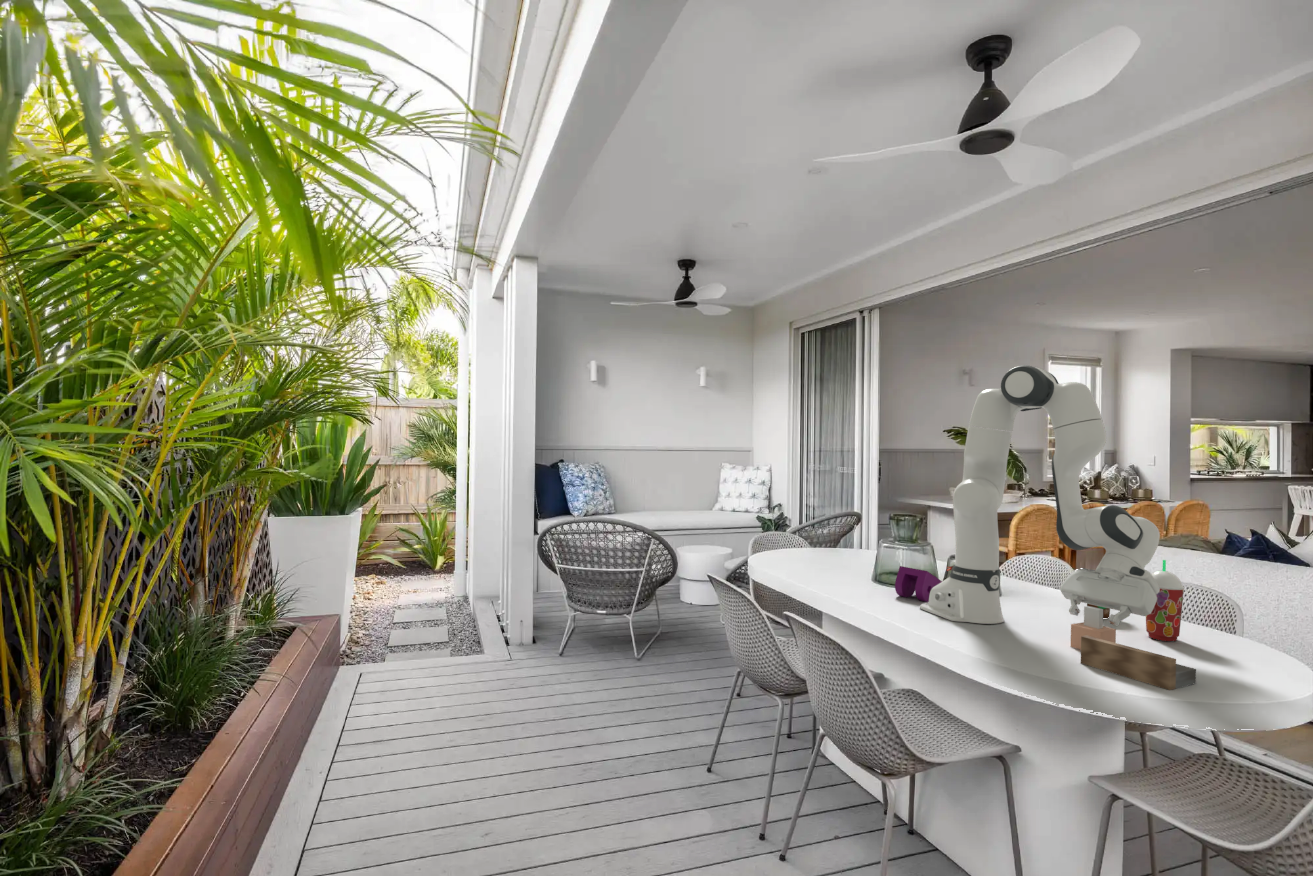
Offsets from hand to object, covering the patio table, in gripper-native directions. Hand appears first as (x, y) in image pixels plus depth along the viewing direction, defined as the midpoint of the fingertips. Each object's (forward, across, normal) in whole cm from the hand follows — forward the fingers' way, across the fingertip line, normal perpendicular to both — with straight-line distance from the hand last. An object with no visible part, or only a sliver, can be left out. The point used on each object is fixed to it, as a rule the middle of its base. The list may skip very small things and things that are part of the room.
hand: (1092, 618), depth 166 cm
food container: (-19, -18, +30) cm, 40 cm away
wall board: (+11, +14, 0) cm, 18 cm away
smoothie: (-14, +2, +24) cm, 28 cm away
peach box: (+5, 0, +6) cm, 8 cm away
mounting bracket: (0, -57, +11) cm, 58 cm away
